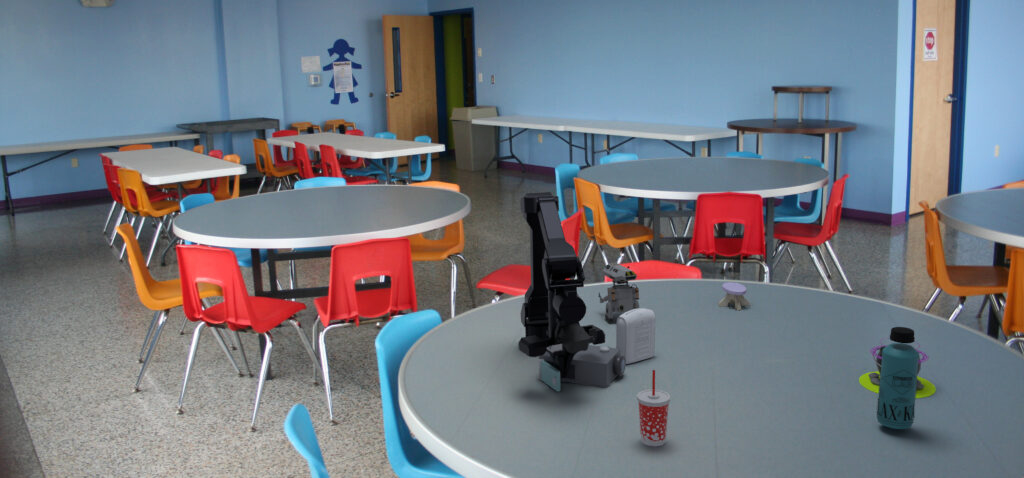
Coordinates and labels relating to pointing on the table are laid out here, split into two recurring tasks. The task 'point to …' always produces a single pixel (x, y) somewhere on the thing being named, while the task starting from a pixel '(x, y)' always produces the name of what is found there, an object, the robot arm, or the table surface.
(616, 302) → the figurine
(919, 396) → the toy cauldron
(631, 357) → the photo printer
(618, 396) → the table surface
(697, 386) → the table surface
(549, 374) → the side door
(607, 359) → the box
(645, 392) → the beverage cup
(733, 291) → the toy table
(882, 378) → the beverage bottle
